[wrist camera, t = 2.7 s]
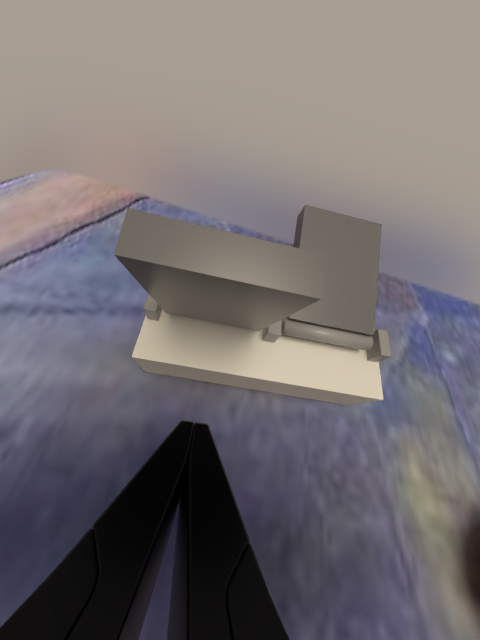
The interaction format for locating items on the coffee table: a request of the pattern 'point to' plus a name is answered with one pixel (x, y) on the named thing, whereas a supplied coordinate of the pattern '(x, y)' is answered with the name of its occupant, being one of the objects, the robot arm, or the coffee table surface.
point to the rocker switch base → (259, 358)
